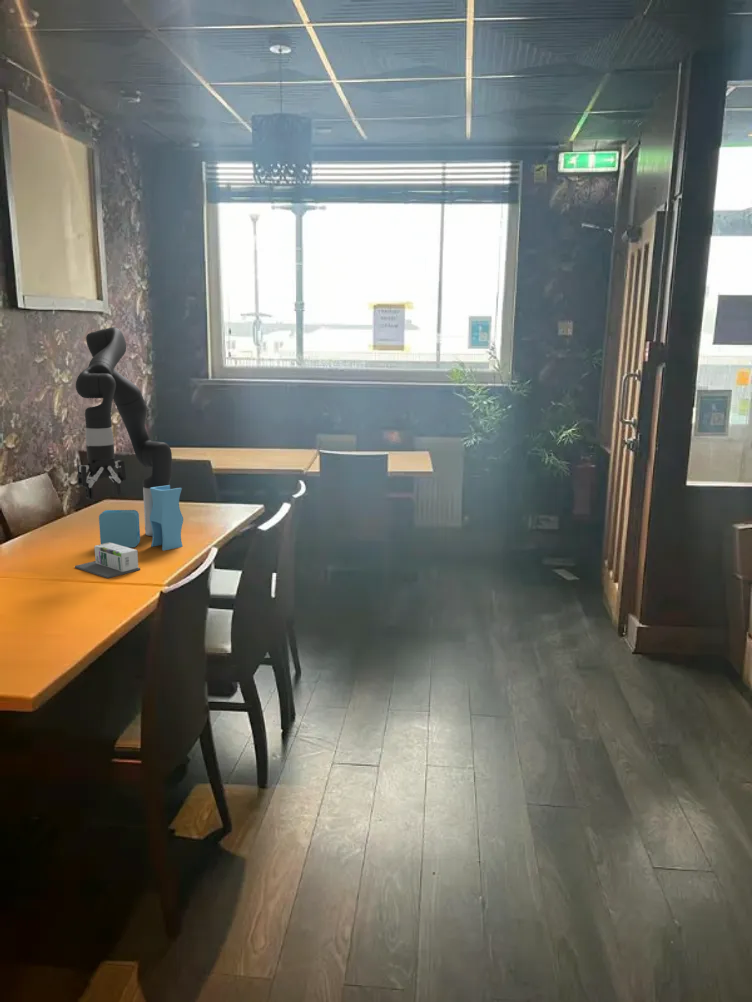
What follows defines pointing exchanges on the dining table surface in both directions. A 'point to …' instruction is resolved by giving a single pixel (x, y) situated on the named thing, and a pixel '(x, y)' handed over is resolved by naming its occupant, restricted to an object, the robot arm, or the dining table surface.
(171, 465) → the robot arm
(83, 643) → the dining table surface
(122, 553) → the syrup box
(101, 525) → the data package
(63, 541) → the dining table surface
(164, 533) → the blue wavy stand
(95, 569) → the mat
